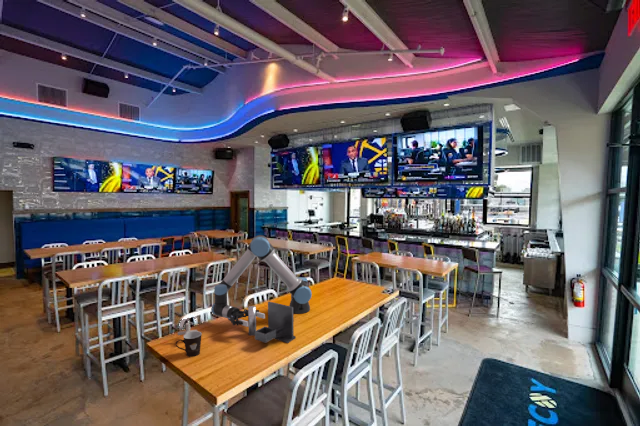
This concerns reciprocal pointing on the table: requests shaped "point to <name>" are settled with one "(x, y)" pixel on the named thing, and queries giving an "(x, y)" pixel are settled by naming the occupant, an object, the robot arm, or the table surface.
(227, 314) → the robot arm
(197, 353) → the coffee mug
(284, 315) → the cup bracket
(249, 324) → the rail post
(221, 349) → the table surface
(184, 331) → the pipe connector
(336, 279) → the table surface
